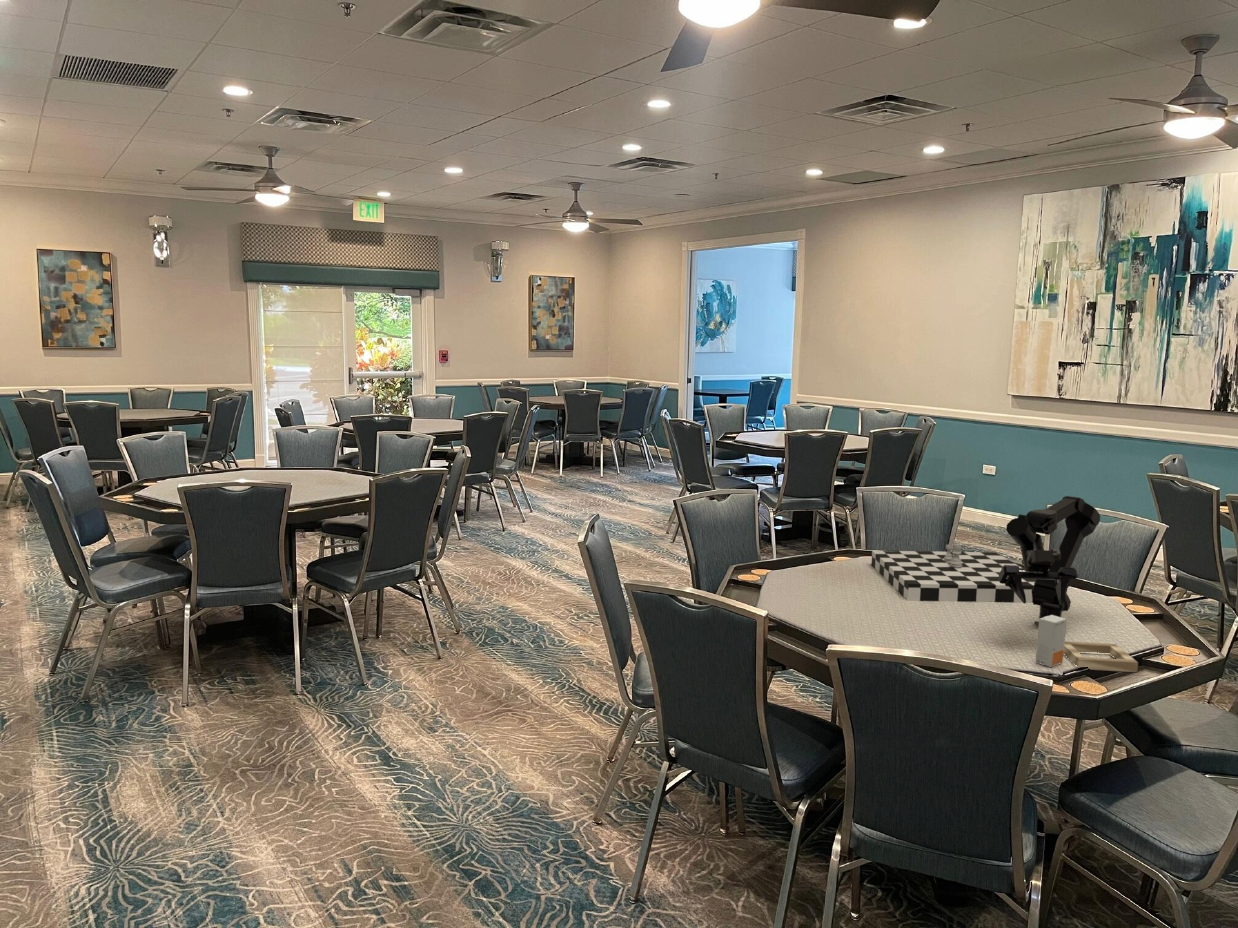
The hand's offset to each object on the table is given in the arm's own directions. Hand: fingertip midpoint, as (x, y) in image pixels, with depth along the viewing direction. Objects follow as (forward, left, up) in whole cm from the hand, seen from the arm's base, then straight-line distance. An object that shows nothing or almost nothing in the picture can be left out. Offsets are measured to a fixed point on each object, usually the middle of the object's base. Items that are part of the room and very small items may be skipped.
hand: (1043, 603), depth 238 cm
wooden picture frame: (+4, +13, -13) cm, 19 cm away
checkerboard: (-69, -6, -14) cm, 71 cm away
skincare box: (+8, 0, -14) cm, 16 cm away
